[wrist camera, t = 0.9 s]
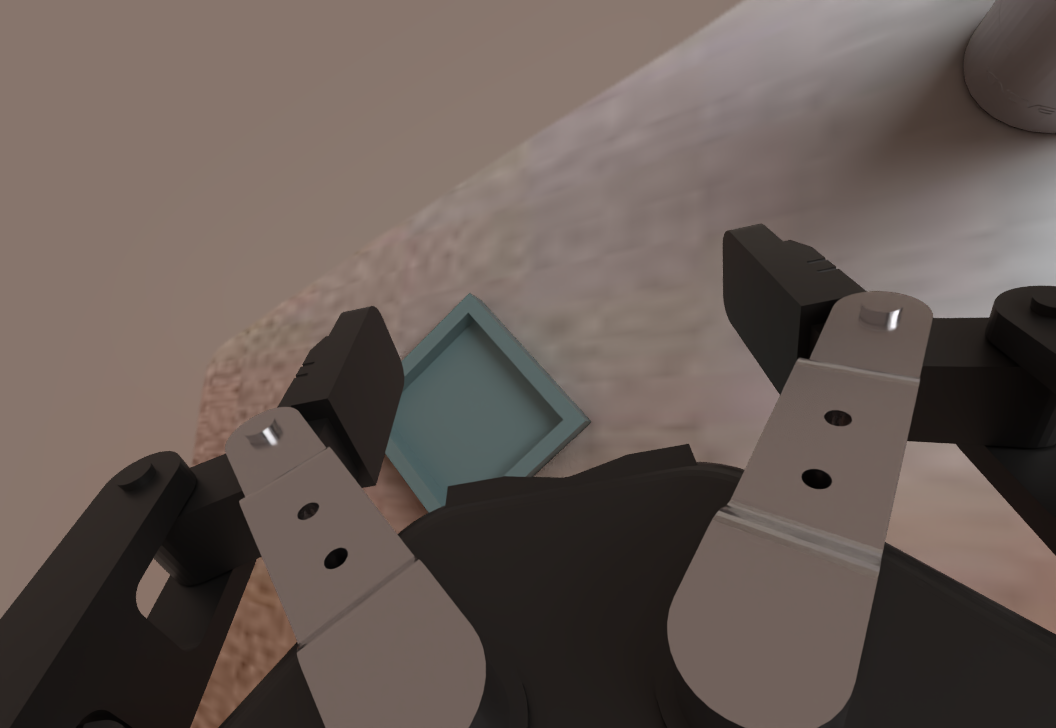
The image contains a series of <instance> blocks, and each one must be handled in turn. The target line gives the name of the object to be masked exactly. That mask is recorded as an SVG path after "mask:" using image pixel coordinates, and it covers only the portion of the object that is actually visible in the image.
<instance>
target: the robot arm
mask: <svg viewBox="0 0 1056 728" xmlns="http://www.w3.org/2000/svg"><path fill="white" fill-rule="evenodd" d="M963 68H964V77H965V82H966V84H967V86H968V89H969V91H970V94H971V95H972V96H973V98H974V99H975V100H976V102H977V103H978V104H979V106H980V107H981V108H983V109H984V110H985V111H986V112H988V113H989V114H990V115H991V116H993V117H994V118H996V119H998V120H1000V121H1002V122H1004V123H1006V124H1008V125H1010V126H1013V127H1017V128H1020V129H1024V130H1027V131H1034V132H1043V133H1056V0H996V1H995V3H994V4H993V6H992V7H991V8H990V10H989V11H988V13H987V14H986V16H985V17H984V19H983V20H982V21H981V23H980V24H979V26H978V27H977V29H976V30H975V32H974V33H973V34H972V36H971V39H970V41H969V43H968V45H967V48H966V50H965V57H964V63H963ZM723 298H724V305H725V310H726V313H727V316H728V319H729V321H730V323H731V324H732V326H733V327H734V328H735V330H736V331H737V333H738V334H739V336H740V337H741V339H742V340H743V342H744V343H745V344H746V346H747V347H748V349H749V350H750V352H751V353H752V355H753V356H754V358H755V359H756V361H757V362H758V363H759V365H760V366H761V368H762V369H763V371H764V372H765V374H766V375H767V377H768V378H769V379H770V381H771V382H772V384H773V385H774V387H775V388H776V390H777V391H778V393H779V394H780V397H779V399H778V401H777V403H776V405H775V407H774V409H773V412H772V414H771V416H770V418H769V420H768V422H767V424H766V426H765V428H764V430H763V433H762V435H761V437H760V439H759V441H758V443H757V445H756V447H755V449H754V452H753V454H752V456H751V458H750V460H749V462H748V464H747V466H746V468H745V470H743V469H740V468H737V467H732V466H728V465H723V464H716V463H708V462H696V460H695V458H694V456H693V453H692V451H691V448H690V446H689V444H685V445H680V446H674V447H668V448H663V449H657V450H651V451H646V452H640V453H634V454H629V455H625V456H623V457H620V458H618V459H615V460H612V461H610V462H607V463H605V464H602V465H599V466H597V467H594V468H592V469H589V470H586V471H584V472H581V473H579V474H576V475H573V476H570V477H565V478H551V477H515V476H503V477H498V478H492V479H486V480H480V481H475V482H469V483H463V484H458V485H452V486H448V488H447V496H446V504H445V506H442V507H440V508H438V509H436V510H434V511H432V512H430V513H428V514H426V515H424V516H422V517H421V518H419V519H417V520H416V521H414V522H413V523H411V524H410V525H409V526H407V527H406V528H405V529H403V530H402V531H401V532H400V533H399V534H397V533H396V532H395V531H394V529H393V528H392V527H391V526H390V524H389V523H388V522H387V520H386V519H385V518H384V516H383V515H382V514H381V513H380V511H379V510H378V509H377V507H376V506H375V505H374V503H373V502H372V501H371V500H370V498H369V497H368V496H367V494H366V493H365V492H364V490H363V489H362V488H364V487H370V486H375V485H376V483H377V480H378V476H379V473H380V469H381V466H382V462H383V458H384V455H385V451H386V448H387V444H388V441H389V437H390V433H391V430H392V426H393V423H394V419H395V416H396V412H397V408H398V405H399V401H400V398H401V394H402V391H403V387H404V370H403V366H402V362H401V360H400V357H399V355H398V353H397V350H396V348H395V346H394V343H393V341H392V339H391V336H390V334H389V332H388V329H387V327H386V325H385V323H384V320H383V318H382V316H381V314H380V312H379V310H378V309H377V308H376V307H374V306H371V307H366V308H361V309H357V310H352V311H347V312H343V313H341V315H340V316H339V318H338V320H337V322H336V324H335V326H334V327H333V329H332V331H331V333H330V335H329V336H327V337H325V338H324V339H323V340H321V341H320V342H319V343H318V344H317V345H316V346H315V347H314V348H313V349H311V350H310V352H309V354H308V355H307V357H306V359H305V361H304V362H303V364H302V365H303V367H300V369H299V371H298V373H297V374H296V378H294V380H293V381H292V383H291V385H290V386H289V388H288V390H287V392H286V393H285V395H284V397H283V399H282V400H281V402H280V404H279V406H278V407H277V408H274V409H270V410H267V411H265V412H262V413H260V414H258V415H256V416H254V417H252V418H251V419H249V420H247V421H246V422H245V423H243V424H242V425H241V426H239V427H238V428H237V429H236V430H235V431H234V432H233V433H232V435H231V436H230V437H229V439H228V440H227V442H226V445H225V452H226V454H224V455H221V456H219V457H216V458H214V459H211V460H209V461H206V462H204V463H201V464H199V465H196V466H193V467H191V468H189V467H188V465H187V464H186V463H185V462H184V461H183V459H182V458H181V457H180V456H179V455H178V454H177V453H175V452H172V451H165V452H158V453H155V454H152V455H149V456H146V457H144V458H142V459H140V460H138V461H136V462H134V463H132V464H131V465H129V466H128V467H126V468H124V469H123V470H122V471H120V472H119V473H118V474H116V475H115V476H114V477H113V478H112V479H111V480H110V481H109V482H108V483H107V484H106V485H105V486H104V487H103V488H102V490H101V491H100V492H99V494H98V495H97V496H96V497H95V499H94V500H93V501H92V502H91V504H90V505H89V506H88V508H87V509H86V510H85V512H84V513H83V514H82V515H81V517H80V518H79V519H78V520H77V522H76V523H75V524H74V526H73V527H72V528H71V529H70V531H69V532H68V533H67V535H66V536H65V537H64V538H63V540H62V541H61V543H60V544H59V545H58V546H57V547H56V549H55V550H54V551H53V552H52V554H51V555H50V556H49V558H48V559H47V560H46V561H45V563H44V564H43V565H42V567H41V568H40V569H39V570H38V572H37V573H36V574H35V576H34V577H33V578H32V579H31V581H30V582H29V583H28V585H27V586H26V587H25V588H24V590H23V591H22V592H21V594H20V595H19V596H18V597H17V599H16V600H15V601H14V603H13V604H12V605H11V606H10V608H9V609H8V610H7V611H6V613H5V614H4V615H3V617H2V618H1V619H0V728H190V727H191V724H192V722H193V719H194V716H195V714H196V711H197V709H198V706H199V704H200V701H201V699H202V696H203V694H204V691H205V689H206V686H207V684H208V681H209V679H210V676H211V674H212V671H213V669H214V666H215V663H216V661H217V658H218V656H219V653H220V651H221V648H222V646H223V643H224V641H225V638H226V636H227V633H228V631H229V628H230V626H231V623H232V621H233V618H234V616H235V613H236V611H237V608H238V605H239V603H240V600H241V598H242V595H243V593H244V590H245V588H246V585H247V583H248V580H249V578H250V575H251V573H252V570H253V568H254V565H255V562H256V559H257V558H259V557H262V558H263V561H264V563H265V566H266V568H267V570H268V573H269V575H270V577H271V580H272V582H273V585H274V587H275V589H276V592H277V594H278V596H279V599H280V601H281V603H282V606H283V608H284V611H285V613H286V615H287V618H288V620H289V622H290V625H291V627H292V630H293V632H294V634H295V637H296V640H297V643H296V644H295V645H294V646H293V647H292V648H291V649H290V650H289V651H288V652H287V654H286V655H285V656H284V657H283V658H282V659H281V660H280V661H279V662H278V663H277V664H276V666H275V667H274V668H273V669H272V670H271V671H270V672H269V673H268V674H267V675H266V676H265V677H264V679H263V680H262V681H261V682H260V683H259V684H258V685H257V686H256V687H255V688H254V689H253V691H252V692H251V693H250V694H249V695H248V696H247V697H246V698H245V699H244V700H243V701H242V703H241V704H240V705H239V706H238V707H237V708H236V709H235V710H234V711H233V712H232V713H231V714H230V716H229V717H228V718H227V719H226V720H225V721H224V722H223V723H222V724H221V725H220V726H219V728H1056V634H1054V633H1052V632H1050V631H1048V630H1046V629H1045V628H1043V627H1041V626H1039V625H1037V624H1035V623H1033V622H1032V621H1030V620H1028V619H1026V618H1024V617H1022V616H1021V615H1019V614H1017V613H1015V612H1013V611H1011V610H1009V609H1008V608H1006V607H1004V606H1002V605H1000V604H998V603H997V602H995V601H993V600H991V599H989V598H987V597H985V596H984V595H982V594H980V593H978V592H976V591H974V590H973V589H971V588H969V587H967V586H965V585H963V584H962V583H960V582H958V581H956V580H954V579H952V578H950V577H949V576H947V575H945V574H943V573H941V572H939V571H938V570H936V569H934V568H932V567H930V566H928V565H926V564H925V563H923V562H921V561H919V560H917V559H915V558H914V557H912V556H910V555H908V554H906V553H904V552H903V551H901V550H899V549H897V548H895V547H893V546H891V545H890V544H888V543H886V542H885V539H886V535H887V530H888V526H889V521H890V516H891V512H892V507H893V503H894V498H895V493H896V489H897V484H898V480H899V475H900V470H901V466H902V461H903V457H904V452H905V448H906V443H907V441H917V442H934V443H952V444H956V445H957V446H958V447H959V449H960V450H961V451H962V452H963V453H964V454H965V455H966V456H967V457H968V459H969V460H970V461H971V462H972V463H973V464H974V465H975V466H976V467H977V469H978V470H979V471H980V472H981V473H982V474H983V475H984V476H985V477H986V479H987V480H988V481H989V482H990V483H991V484H992V485H993V486H994V488H995V489H996V490H997V491H998V492H999V493H1000V494H1001V495H1002V496H1003V498H1004V499H1005V500H1006V501H1007V502H1008V503H1009V504H1010V505H1011V506H1012V508H1013V509H1014V510H1015V511H1016V512H1017V513H1018V514H1019V515H1020V516H1021V518H1022V519H1023V520H1024V521H1025V522H1026V523H1027V524H1028V525H1029V526H1030V528H1031V529H1032V530H1033V531H1034V532H1035V533H1036V534H1037V535H1038V536H1039V538H1040V539H1041V540H1042V541H1043V542H1044V543H1045V544H1046V545H1047V546H1048V548H1049V549H1050V550H1051V551H1052V552H1053V553H1054V554H1055V555H1056V286H1027V287H1020V288H1015V289H1011V290H1008V291H1006V292H1004V293H1002V294H1000V295H999V296H998V297H997V298H996V299H995V301H994V305H993V308H992V311H991V314H990V317H989V318H933V313H932V311H931V309H930V308H929V307H928V306H927V305H926V304H925V303H923V302H922V301H920V300H918V299H916V298H913V297H911V296H907V295H904V294H899V293H893V292H883V291H870V292H867V291H865V290H864V289H863V288H862V287H860V286H859V285H858V284H857V283H855V282H854V281H853V280H852V279H851V278H849V277H848V276H847V275H846V274H844V273H843V272H842V271H841V270H839V269H836V266H835V265H833V264H832V263H831V262H830V261H828V260H825V257H823V256H822V255H821V254H820V253H818V252H817V251H816V250H815V249H814V248H812V247H810V246H807V245H804V244H801V243H798V242H795V241H792V240H788V241H782V240H781V239H780V238H779V237H777V236H776V235H775V234H774V233H773V232H772V231H771V230H769V229H768V228H767V227H766V226H765V225H763V224H757V225H752V226H748V227H743V228H738V229H734V230H729V231H726V232H725V234H724V237H723ZM153 558H154V559H155V560H156V561H157V562H158V563H159V564H160V565H161V566H162V567H163V568H164V569H165V570H166V571H167V572H168V573H169V574H170V577H169V578H168V580H167V582H166V584H165V586H164V588H163V590H162V591H161V593H160V595H159V597H158V599H157V601H156V603H155V604H154V607H153V608H152V610H151V612H150V614H149V616H148V618H147V619H146V618H145V617H144V616H143V615H142V614H141V613H140V611H139V610H138V607H137V603H136V591H137V587H138V584H139V582H140V580H141V578H142V576H143V575H144V573H145V571H146V570H147V568H148V566H149V565H150V563H151V561H152V559H153Z"/></svg>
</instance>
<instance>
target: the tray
mask: <svg viewBox="0 0 1056 728" xmlns="http://www.w3.org/2000/svg"><path fill="white" fill-rule="evenodd" d="M402 366H403V370H404V387H403V391H402V394H401V398H400V401H399V405H398V408H397V412H396V416H395V419H394V423H393V426H392V430H391V433H390V437H389V441H388V444H387V448H386V451H385V454H386V455H387V456H388V458H389V459H390V461H391V462H392V463H393V465H394V466H395V467H396V469H397V470H398V471H399V473H400V474H401V476H402V477H403V478H404V480H405V481H406V482H407V484H408V485H409V486H410V488H411V489H412V491H413V492H414V493H415V495H416V496H417V497H418V499H419V500H420V501H421V503H422V504H423V506H424V507H425V508H426V510H427V511H428V512H429V513H430V512H432V511H434V510H436V509H438V508H440V507H442V506H445V504H446V496H447V488H448V486H452V485H458V484H463V483H469V482H475V481H480V480H486V479H492V478H498V477H503V476H515V477H533V476H534V475H535V474H536V473H537V472H538V471H539V470H540V469H541V468H542V467H544V466H545V465H546V464H547V463H548V462H549V461H550V460H551V459H552V458H553V457H554V456H555V455H556V454H558V453H559V452H560V451H561V450H562V449H563V448H564V447H565V446H566V445H567V444H568V443H569V442H570V441H571V440H573V439H574V438H575V437H576V436H577V435H578V434H579V433H580V432H581V431H582V430H583V429H584V428H585V427H587V426H588V425H589V424H590V423H591V421H590V420H589V419H588V417H587V416H586V415H585V414H584V413H583V412H582V411H581V410H580V409H579V408H578V406H577V405H576V404H575V403H574V402H573V401H572V400H571V399H570V398H569V396H568V395H567V394H566V393H565V392H564V391H563V390H562V389H561V388H560V387H559V385H558V384H557V383H556V382H555V381H554V380H553V379H552V378H551V377H550V376H549V374H548V373H547V372H546V371H545V370H544V369H543V368H542V367H541V366H540V365H539V363H538V362H537V361H536V360H535V359H534V358H533V357H532V356H531V355H530V353H529V352H528V351H527V350H526V349H525V348H524V347H523V346H522V345H521V344H520V342H519V341H518V340H517V339H516V338H515V337H514V336H513V335H512V334H511V333H510V331H509V330H508V329H507V328H506V327H505V326H504V325H503V324H502V323H501V322H500V320H499V319H498V318H497V317H496V316H495V315H494V314H493V313H492V312H491V310H490V309H489V308H488V307H487V306H486V305H485V304H484V303H483V302H482V301H481V300H480V299H478V298H477V297H475V296H474V295H472V294H471V293H469V294H468V295H467V296H466V297H465V298H464V299H463V300H462V301H461V302H460V303H459V304H458V305H457V306H456V307H455V308H454V309H453V310H452V311H451V312H450V313H449V314H448V315H447V316H446V317H445V318H444V319H443V320H442V321H441V322H440V323H439V324H438V325H437V326H436V327H435V328H434V329H433V330H432V331H431V332H430V333H429V334H428V335H427V336H426V337H425V338H424V339H423V340H422V341H421V342H420V343H419V344H418V345H417V346H416V347H415V348H414V349H413V350H412V351H411V352H410V353H409V354H408V355H407V356H406V357H405V358H404V360H403V361H402Z"/></svg>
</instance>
